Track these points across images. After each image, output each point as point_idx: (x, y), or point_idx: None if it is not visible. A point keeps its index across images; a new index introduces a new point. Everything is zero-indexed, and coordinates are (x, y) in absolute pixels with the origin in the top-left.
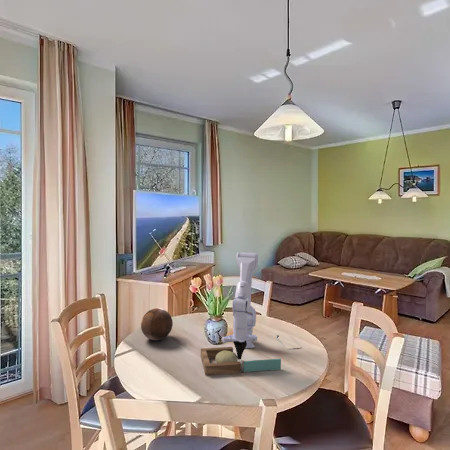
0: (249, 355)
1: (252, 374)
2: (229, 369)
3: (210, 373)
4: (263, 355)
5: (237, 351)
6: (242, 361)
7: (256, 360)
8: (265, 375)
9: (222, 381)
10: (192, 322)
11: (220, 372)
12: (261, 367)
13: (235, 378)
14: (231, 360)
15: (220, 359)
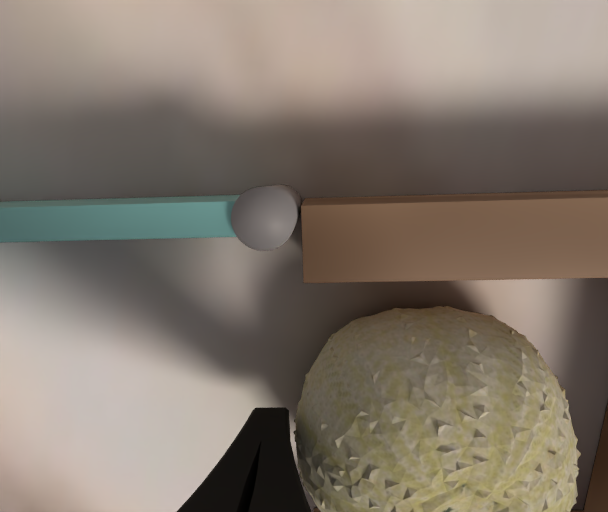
0: (154, 505)
1: (178, 142)
2: (452, 197)
3: None
4: (22, 490)
5: (302, 496)
6: (268, 205)
7: (18, 232)
8: (33, 102)
9: (568, 13)
10: None
11: (550, 193)
12: (33, 202)
13: (391, 71)
14: (406, 346)
15: (556, 388)
